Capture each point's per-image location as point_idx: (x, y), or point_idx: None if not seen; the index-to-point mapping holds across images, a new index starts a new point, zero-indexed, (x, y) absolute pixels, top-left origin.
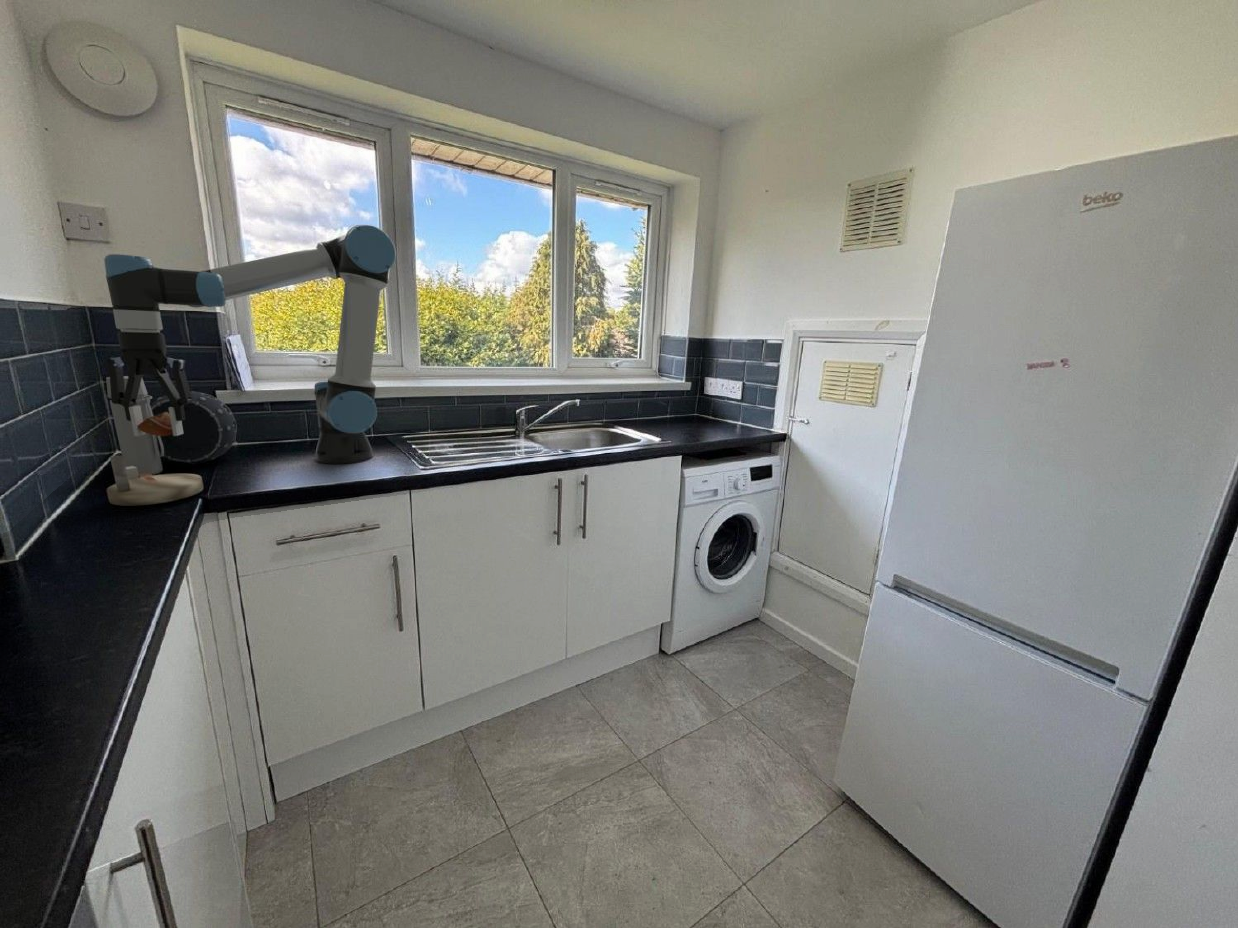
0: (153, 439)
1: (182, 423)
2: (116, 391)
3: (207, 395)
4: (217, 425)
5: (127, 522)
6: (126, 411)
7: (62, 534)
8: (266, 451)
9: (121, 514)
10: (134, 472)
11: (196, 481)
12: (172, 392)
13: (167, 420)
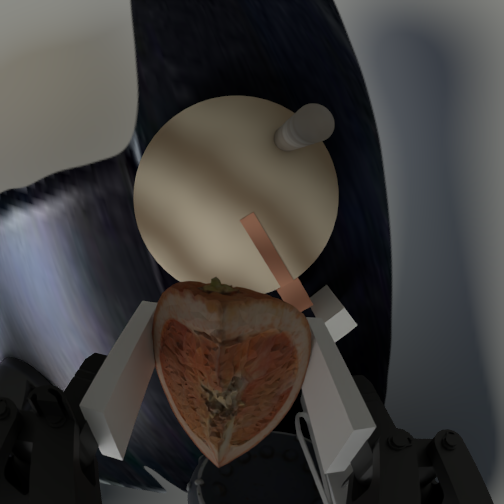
0: (316, 444)
1: (283, 501)
2: (463, 497)
3: None
4: (202, 491)
5: (232, 32)
6: (381, 412)
7: (315, 10)
8: (177, 467)
9: (267, 84)
10: (323, 315)
11: (137, 192)
12: (33, 501)
13: (184, 394)
